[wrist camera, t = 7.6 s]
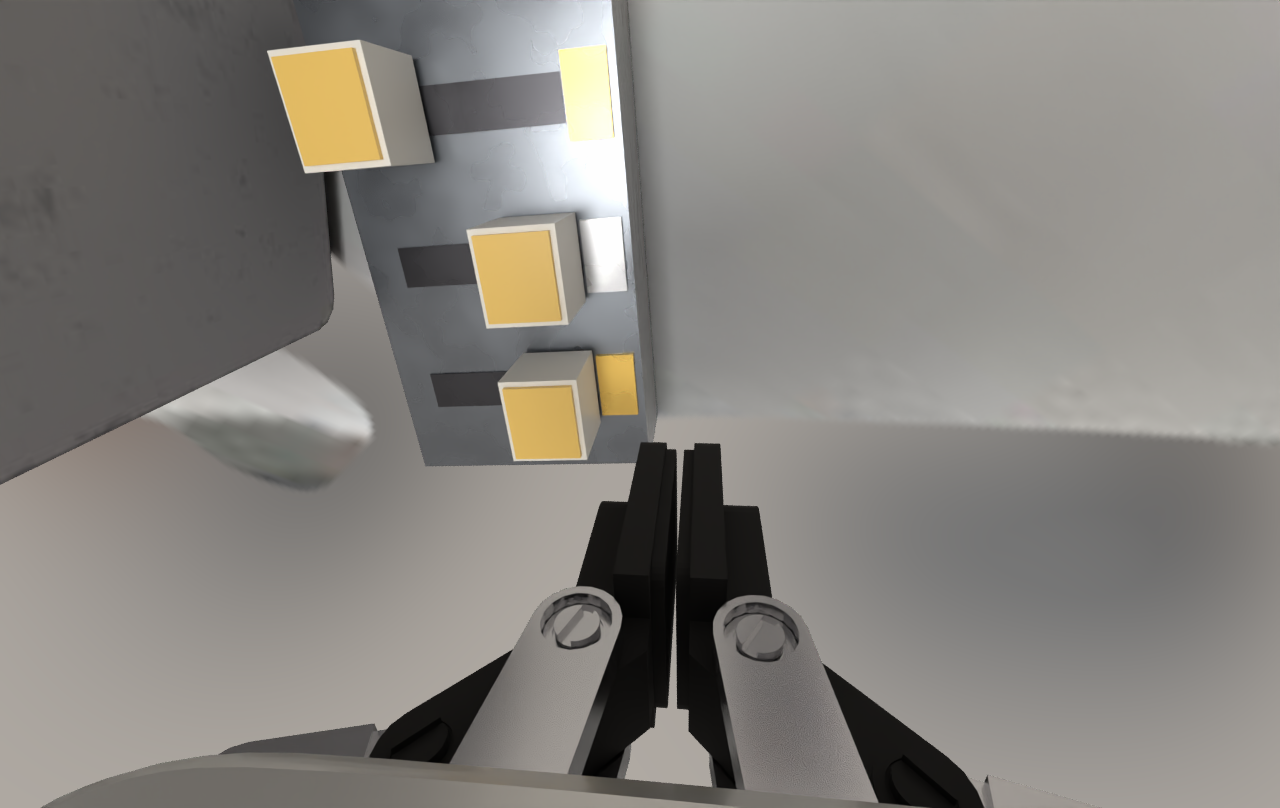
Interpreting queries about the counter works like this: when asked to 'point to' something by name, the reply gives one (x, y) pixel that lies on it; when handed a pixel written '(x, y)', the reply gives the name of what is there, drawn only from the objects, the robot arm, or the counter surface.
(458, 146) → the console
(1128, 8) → the counter surface
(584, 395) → the switch
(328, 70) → the switch
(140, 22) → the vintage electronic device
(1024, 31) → the counter surface
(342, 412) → the counter surface
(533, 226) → the switch
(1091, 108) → the counter surface
